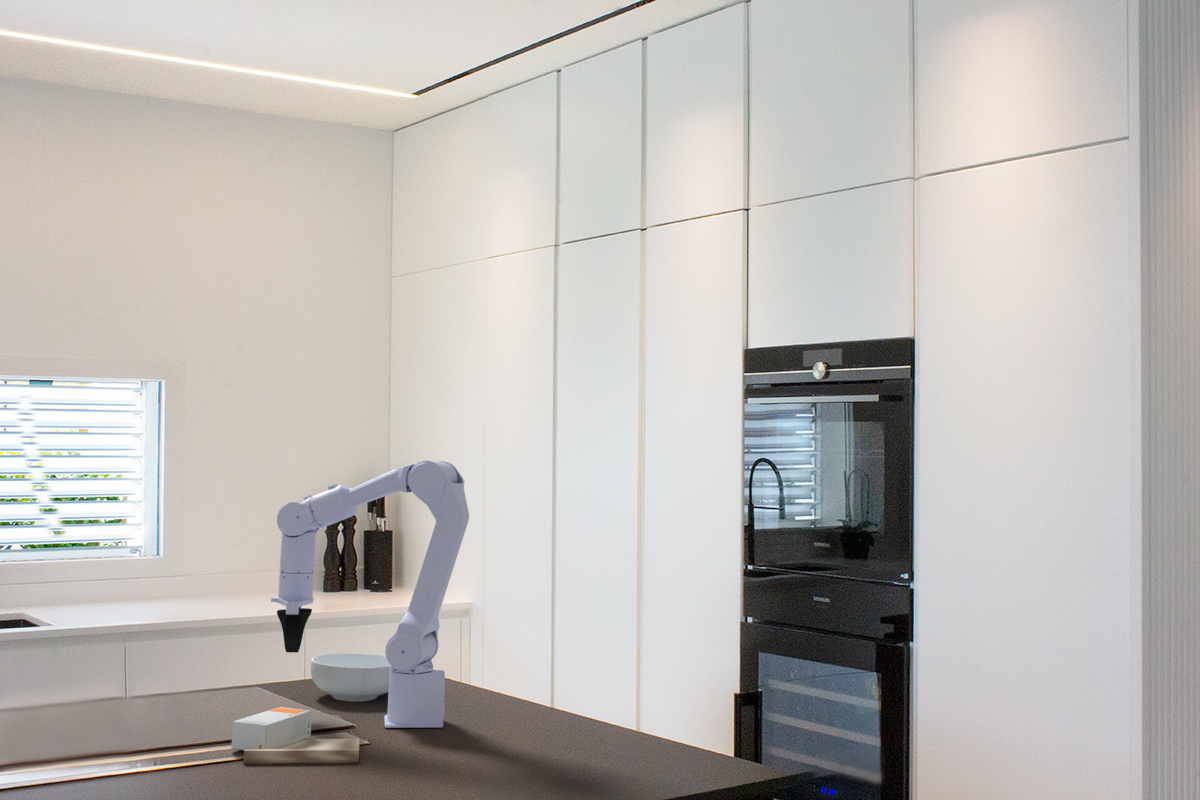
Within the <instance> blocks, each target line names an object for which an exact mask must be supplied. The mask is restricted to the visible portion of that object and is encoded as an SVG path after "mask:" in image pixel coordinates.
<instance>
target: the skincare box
mask: <svg viewBox="0 0 1200 800" xmlns="http://www.w3.org/2000/svg"><path fill="white" fill-rule="evenodd" d="M312 715H313V711H312V710H309V709H301V708H299V709H297V708H290V707H285V706H279V707H276V708H272V709H269V710H266V711H263V712H259V713H256V714H253V715H249V716H245V717H243V718H240V719H237V720H233V721H232V733H231V747H230V748H231V750H237V751H243V752H244V750H245V749H279V748H281V747H284V746H287V745H290V744H292V743H295V742H298V741H301V740H304V739H310V738H311V734H312Z"/></svg>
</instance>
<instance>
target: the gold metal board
mask: <svg viewBox="0 0 1200 800" xmlns="http://www.w3.org/2000/svg"><path fill="white" fill-rule="evenodd" d="M359 759H360V738H306V739H304V740H301V741H298V742H295V743H292V744H290V745H287V746H284V747H281V748H279V749H245V750H244V751H243V761H242V762H243V765H244V764H245V765H246V764H255V765H256V764H258V765H259V764H355V763H359Z"/></svg>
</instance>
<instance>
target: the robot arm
mask: <svg viewBox="0 0 1200 800" xmlns="http://www.w3.org/2000/svg"><path fill="white" fill-rule="evenodd" d="M397 492H401V493H402V492H403V493H412V494H413V495H415V496H416V497H417V498H418V499H419V500H420V501H422V503H424V504H425V505H426V506H427V507H428V509H429V512H430V513H431V514H432V517H433V518H434V519H435V523H434V524H435V525H434V528H433V531H432V533H431V537H430V540H429V542H428V546H427V550H426V553H425V556H424V559H423V562H422V565H421V568H420V571H419V574H418V578H417V581H416V583H415V587H414V591H413V594H412V597H411V600H410V603H409V606H408V609H407V611H406V613H405V614H404V615H403V617H402V619H400V622H399V624H398V626H397V630H396V631H395V633H394V634H393V635H392V636H391V637H390V638H389V639H388V640H387V642H386V645H385V653H384V655H386V658H387V661H388V662H389V664H390V665H391V666H390V673H389V692H387V693H388V695H387V712H386V714H385V715H384V716H383V717H384V727H385V728H388V729H390V728H392V729H393V728H394V729H395V728H397V729H398V728H399V729H400V728H404V729H405V728H408V729H410V728H412V729H414V728H418V729H420V728H422V729H423V728H430V729H431V728H433V729H434V728H440V729H441V728H444V716H445V713H446V704H445V692H446V689H445V687H446V677H445V676H446V675H445V674H446V673H445V670H442V669H441V670H440V669H434V664H433V662H432V660H433V659H434V658H435V657H436V655H437V653H438V652H439V651H438V650H439V637H438V633H439V629H440V625H441V624H440V621H439V614H440V612H441V607H442V605H443V602H444V599H445V595H446V592H447V590H448V585H449V582H450V579H451V577H452V573H453V572H454V571H453V570H454V567H455V564H456V560H457V557H458V555H459V552H460V550H461V549H460V548H461V545H462V542H463V539H464V536H465V532H466V531H467V527H468V524H469V519H470V512H469V507H468V503H467V498H466V493H465V479H464V478H463V476H462V474H460V472H459V471H458V469H457V467H456V465H455V466H454V464H452V463H450V462H448V461H444V460H441V461H440V460H439V461H432V460H426V459H425V460H421V461H417V463H415V464H414V463H413V464H412V463H411V464H408V465H407V464H406V465H403V466H400V467H397V468H395V469H393V470H390V471H388V472H386V473H383V474H381V475H379V476H377V477H374V478H373V479H372V478H371V479H370V480H368V481H365V482H363V483H361V484H359V485H357V486H355V487H349V486H347V485H345V484H340V485H338V484H337V483H333V484H330V485H328V486H327V490H325V491H322V492H320V493H317V494H315V495H312V494H307V495H305V496H303V501H302V502H298V501H289V502H288V503H287V504H285V505H283V506H282V507H281V508H280V509H279V510H278V513H277V516H276V523H277V527H278V529H279V530H280V532H281V544H280V561H279V562H280V563H279V578H278V579H279V580H278V592H277V593H278V596H271V598H270V602H271V603H276V604H277V603H278V604H279V605H282V606H285V609H283V608H282V609H278V610H276V615H277V618H278V619H279V622H280V625H281V628H282V634H283V643H284V649H285V653H299V650H300V648H301V645H302V641H303V635H304V632H305V627H306V624H307V622H308V620H309V618H310V616H311V615H312V612H313V609H312V608H309V607H308V608H307V607H306V608H302V607H303V606H306V605H311V604H313V603H314V600H315V599H314V597H313V596H314V595H313V592H314V577H315V576H314V575H315V559H316V538H317V537H316V536H317V533H318V532H319V531H320V529H323V528H326V527H329V526H330V525H333V524H336V523H339V522H341V521H344V520H347V519H348V518H350V517H353V516H354V515H356V514H357V511H358V509H359V507H360V506H362V505H364V504H368V503H370V502H372V501H373V502H374V501H375V500H378V499H382V498H384V497H387V496H389V495H392V494H395V493H397Z"/></svg>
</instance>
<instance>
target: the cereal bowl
mask: <svg viewBox="0 0 1200 800" xmlns="http://www.w3.org/2000/svg"><path fill="white" fill-rule="evenodd" d="M390 666H391V665H390V664H389V662H388V661H387V658H386V654H377V653H375V654H374V653H364V652H361V653H360V652H359V653H358V652H341V653H340V652H336V653H335V652H334V653H324V654H320V655H316V656H314V657H312V658H311V661H310V674H311V678H312V681H313V683H314V684H315V686H316V687H317V688H318V689H320V690H321V691H323V692H325V693H327V694H329V695H330V696H332V698H333V699H334V700H338V701H342V702H369V701H374V700H376V699H377V698H378V697H379V696H381V695H384V694H386V693H389V673H390Z"/></svg>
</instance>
